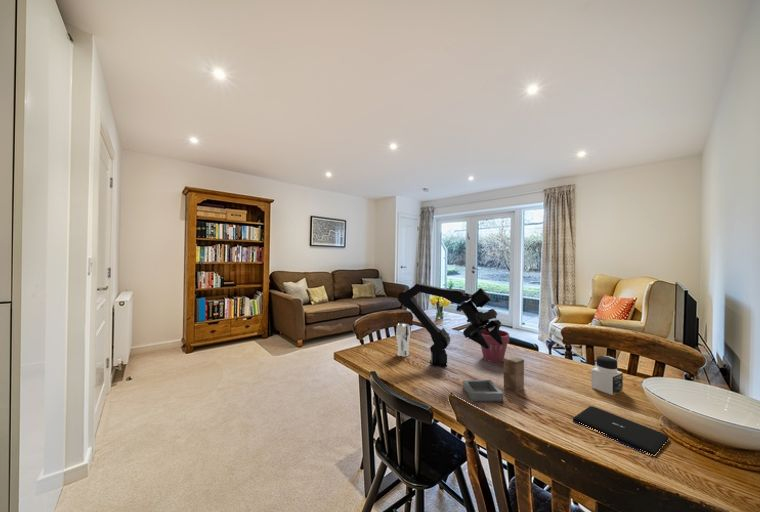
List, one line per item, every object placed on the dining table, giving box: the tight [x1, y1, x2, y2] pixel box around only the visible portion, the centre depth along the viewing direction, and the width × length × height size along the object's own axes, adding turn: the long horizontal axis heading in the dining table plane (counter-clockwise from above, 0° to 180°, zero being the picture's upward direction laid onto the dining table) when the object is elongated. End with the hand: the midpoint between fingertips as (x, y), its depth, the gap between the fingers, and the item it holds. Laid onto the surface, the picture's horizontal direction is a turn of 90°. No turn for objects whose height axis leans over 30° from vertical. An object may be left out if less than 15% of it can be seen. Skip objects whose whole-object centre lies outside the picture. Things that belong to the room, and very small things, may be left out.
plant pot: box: [480, 329, 510, 363], centre depth 137 cm, size 14×14×13 cm
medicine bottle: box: [590, 355, 624, 396], centre depth 105 cm, size 7×7×12 cm
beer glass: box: [395, 323, 411, 358], centre depth 142 cm, size 7×7×15 cm
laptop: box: [572, 405, 669, 455], centre depth 81 cm, size 16×20×2 cm
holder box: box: [462, 379, 504, 403], centre depth 101 cm, size 10×10×3 cm
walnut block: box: [503, 355, 525, 393], centre depth 106 cm, size 5×5×11 cm
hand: (495, 346), depth 113 cm, fingers open, 9 cm apart
